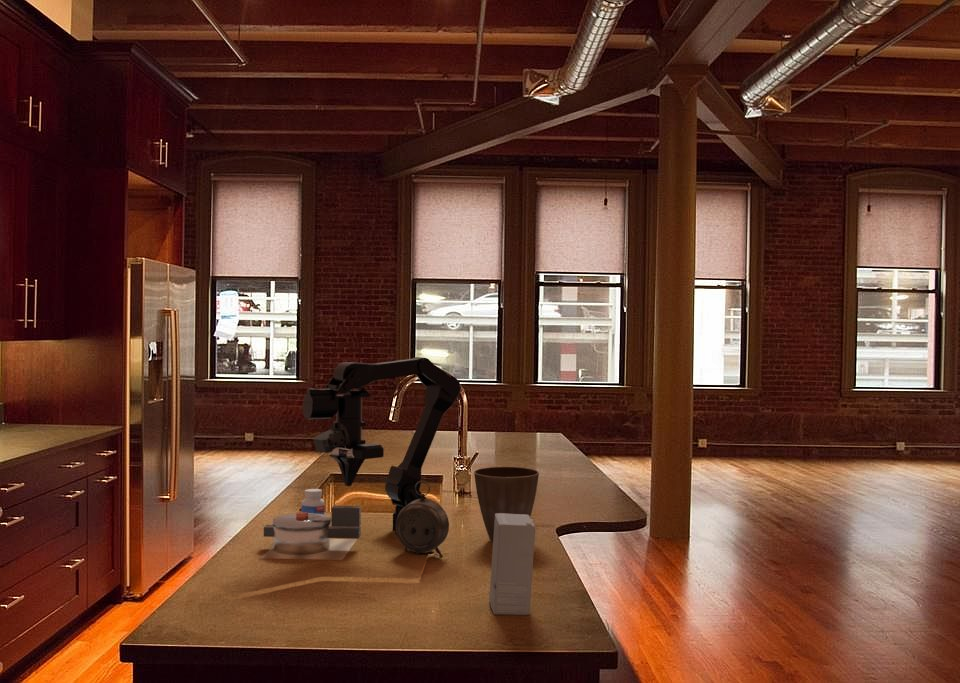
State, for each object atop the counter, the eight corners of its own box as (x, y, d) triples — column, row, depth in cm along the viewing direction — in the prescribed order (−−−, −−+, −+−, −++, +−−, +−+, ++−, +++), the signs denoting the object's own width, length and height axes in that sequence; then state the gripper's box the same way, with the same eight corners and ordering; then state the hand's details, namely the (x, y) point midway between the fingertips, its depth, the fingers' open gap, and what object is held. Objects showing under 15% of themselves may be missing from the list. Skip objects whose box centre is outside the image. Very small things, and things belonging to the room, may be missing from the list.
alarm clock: (449, 555, 190) (450, 480, 190) (441, 562, 185) (442, 484, 185) (401, 551, 193) (402, 477, 193) (392, 557, 188) (393, 481, 188)
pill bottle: (318, 534, 208) (319, 492, 208) (297, 532, 210) (297, 491, 209) (327, 529, 214) (328, 488, 214) (306, 527, 215) (307, 487, 215)
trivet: (357, 542, 200) (357, 539, 200) (342, 563, 182) (342, 559, 182) (282, 541, 201) (282, 537, 201) (260, 561, 183) (260, 557, 183)
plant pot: (508, 552, 194) (509, 479, 194) (459, 540, 204) (460, 471, 204) (551, 541, 205) (552, 471, 205) (502, 530, 215) (503, 464, 215)
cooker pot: (257, 554, 186) (257, 530, 186) (272, 540, 198) (272, 518, 198) (354, 556, 185) (355, 532, 185) (363, 542, 197) (364, 520, 197)
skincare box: (488, 601, 158) (489, 512, 158) (528, 600, 159) (529, 512, 159) (493, 616, 150) (494, 522, 150) (535, 615, 150) (536, 522, 150)
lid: (266, 531, 185) (266, 511, 185) (279, 518, 198) (279, 500, 198) (356, 532, 186) (356, 512, 186) (363, 519, 198) (363, 501, 198)
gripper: (295, 416, 203) (295, 484, 203) (345, 423, 190) (344, 495, 190) (335, 413, 211) (334, 479, 211) (385, 419, 198) (384, 489, 198)
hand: (348, 485), depth 202 cm, fingers closed
